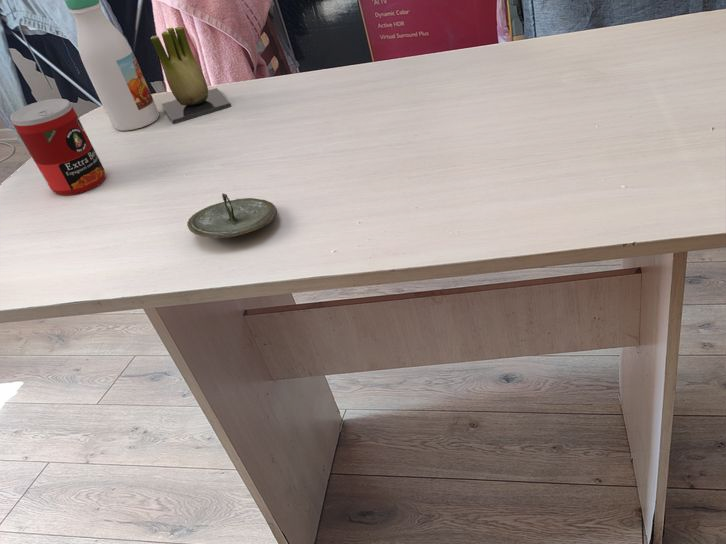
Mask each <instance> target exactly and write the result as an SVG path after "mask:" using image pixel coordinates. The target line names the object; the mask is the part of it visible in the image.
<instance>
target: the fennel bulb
mask: <svg viewBox="0 0 726 544" xmlns="http://www.w3.org/2000/svg"><path fill="white" fill-rule="evenodd" d="M161 38H162V41H163V43H164V45H163V43H162V42H161V39H160V37H159V36H158V35H152V36H151V37H150V41H151V44H152V45H153V47H154V49H155V52H156V54H157V57H158V58H159V61H160V62H159V63H160V64H161V67H162V70H163V73H164V77H165V79H166V82H167V85H168V86H169V89H170V91H171V93H172V95H173V96H174V98H175V100H177V101H178V102H179V103H180V104H181V105H195V104H200V103H202V102H204V101H206V99H207V97H208V90H209V88H208V84H207V81H206V78H205V75H204V73H203V70H202V69H201V67H200V65H199V63H198V61H197V59H196V58H195V56H194V54H193V52H192V49H191V46H190V43H189V40H188V38H187V34H186V30H185V28H184V27H183V26H176V27H168V28H166V31H162V32H161ZM164 47H165V48H164Z"/></svg>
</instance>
